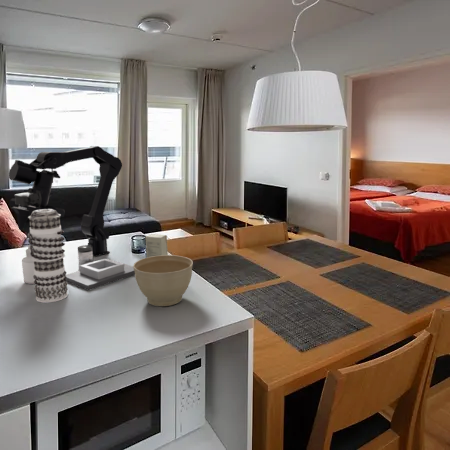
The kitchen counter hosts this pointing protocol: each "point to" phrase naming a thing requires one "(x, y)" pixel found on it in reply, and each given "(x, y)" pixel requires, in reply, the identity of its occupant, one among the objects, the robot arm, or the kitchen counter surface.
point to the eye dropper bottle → (28, 267)
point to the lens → (85, 254)
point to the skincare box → (156, 245)
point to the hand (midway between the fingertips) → (31, 232)
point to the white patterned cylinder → (47, 255)
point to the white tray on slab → (99, 273)
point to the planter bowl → (163, 278)
